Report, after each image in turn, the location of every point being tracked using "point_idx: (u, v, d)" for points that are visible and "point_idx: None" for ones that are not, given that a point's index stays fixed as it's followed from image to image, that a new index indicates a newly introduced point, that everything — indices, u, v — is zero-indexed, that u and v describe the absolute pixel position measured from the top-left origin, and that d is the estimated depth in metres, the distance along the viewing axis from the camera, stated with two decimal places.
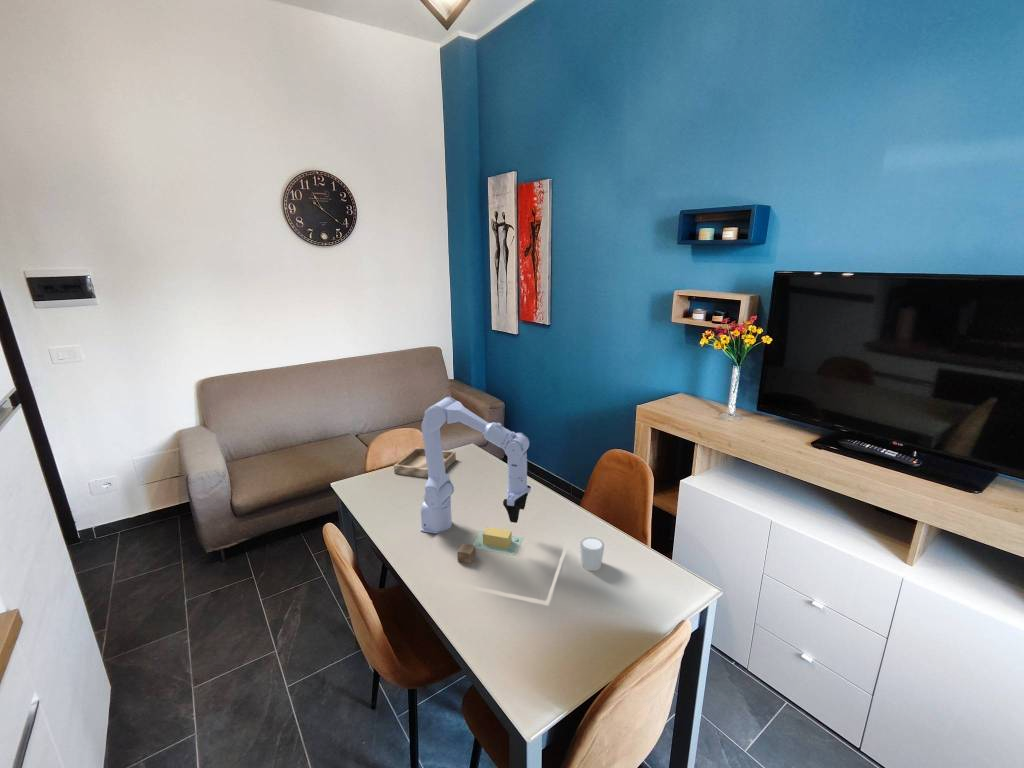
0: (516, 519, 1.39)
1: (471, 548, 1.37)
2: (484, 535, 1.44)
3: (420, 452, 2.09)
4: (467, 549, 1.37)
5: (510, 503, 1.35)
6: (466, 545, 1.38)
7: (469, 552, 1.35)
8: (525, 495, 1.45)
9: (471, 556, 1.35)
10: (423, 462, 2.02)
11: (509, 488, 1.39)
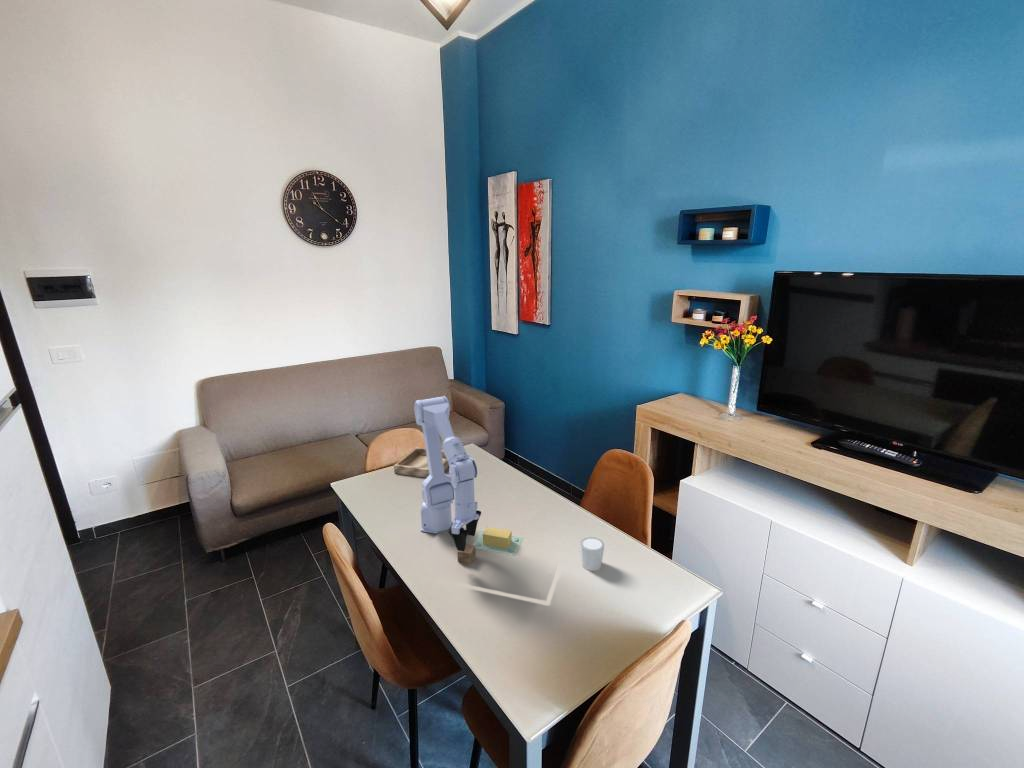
0: (463, 547, 1.32)
1: (471, 548, 1.37)
2: (484, 535, 1.44)
3: (420, 452, 2.09)
4: (467, 549, 1.37)
5: (455, 531, 1.27)
6: (466, 545, 1.38)
7: (469, 552, 1.35)
8: (475, 521, 1.38)
9: (471, 556, 1.35)
10: (423, 462, 2.02)
11: (456, 515, 1.32)
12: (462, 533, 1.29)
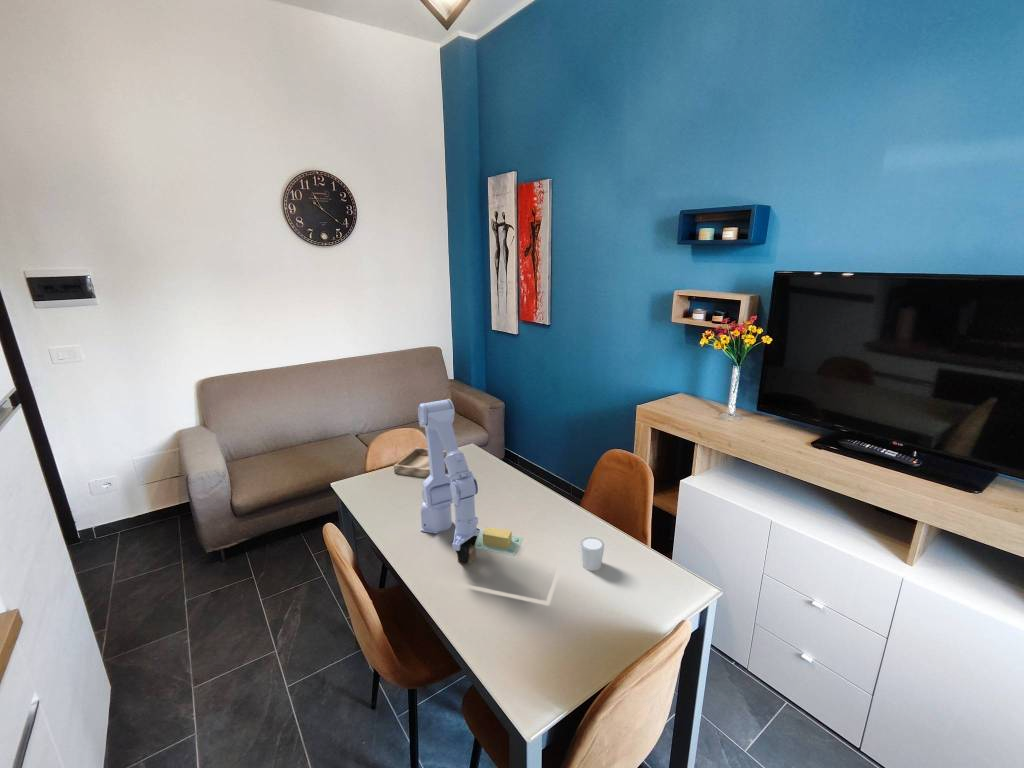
0: (466, 560, 1.35)
1: (471, 548, 1.37)
2: (484, 535, 1.44)
3: (420, 452, 2.09)
4: None
5: (455, 548, 1.29)
6: None
7: (469, 552, 1.35)
8: (473, 539, 1.38)
9: (471, 556, 1.35)
10: (423, 462, 2.02)
11: (456, 530, 1.34)
12: (465, 546, 1.31)
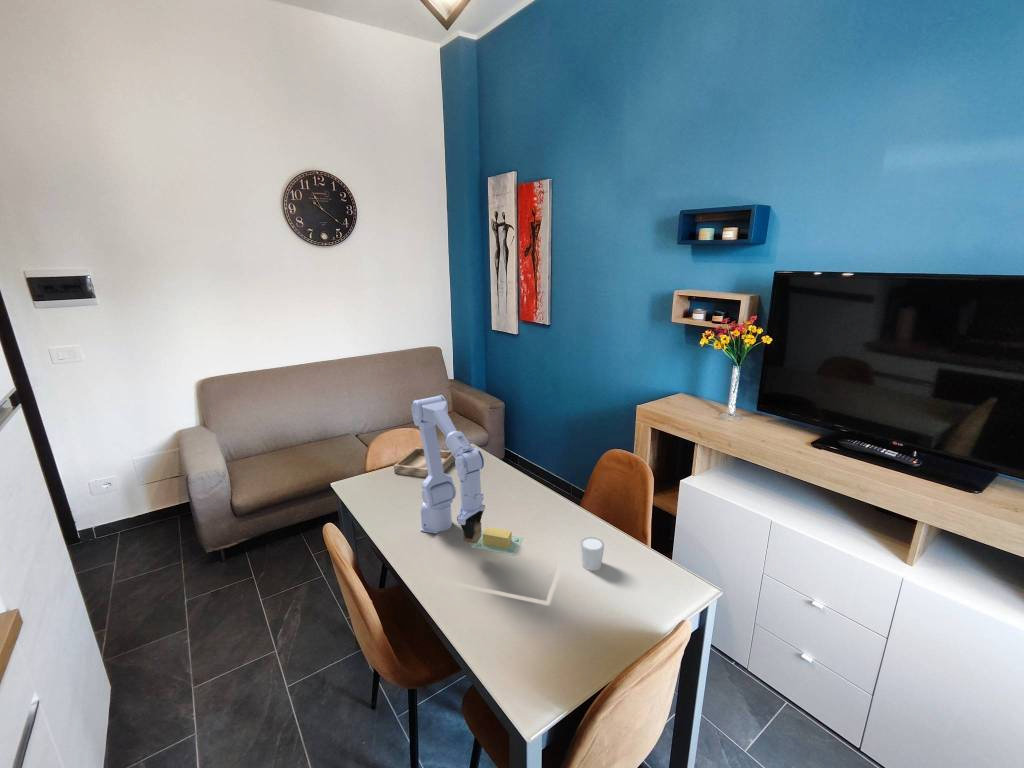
0: (471, 535, 1.34)
1: (476, 525, 1.36)
2: (484, 535, 1.44)
3: (420, 452, 2.09)
4: None
5: (461, 522, 1.28)
6: None
7: (475, 528, 1.35)
8: (479, 515, 1.37)
9: (476, 532, 1.35)
10: (423, 462, 2.02)
11: (462, 506, 1.33)
12: (470, 521, 1.31)
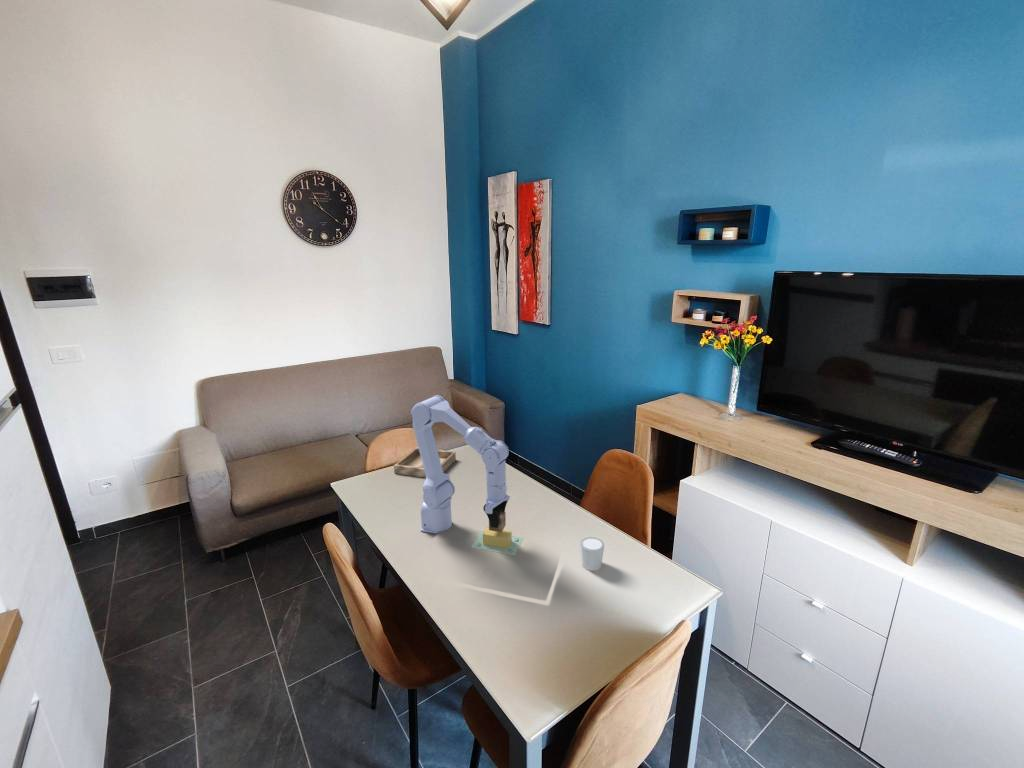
0: (497, 524, 1.40)
1: (501, 514, 1.42)
2: (484, 535, 1.44)
3: None
4: None
5: (488, 511, 1.35)
6: None
7: (500, 517, 1.41)
8: (503, 505, 1.44)
9: (502, 521, 1.41)
10: None
11: (488, 496, 1.39)
12: (496, 510, 1.37)
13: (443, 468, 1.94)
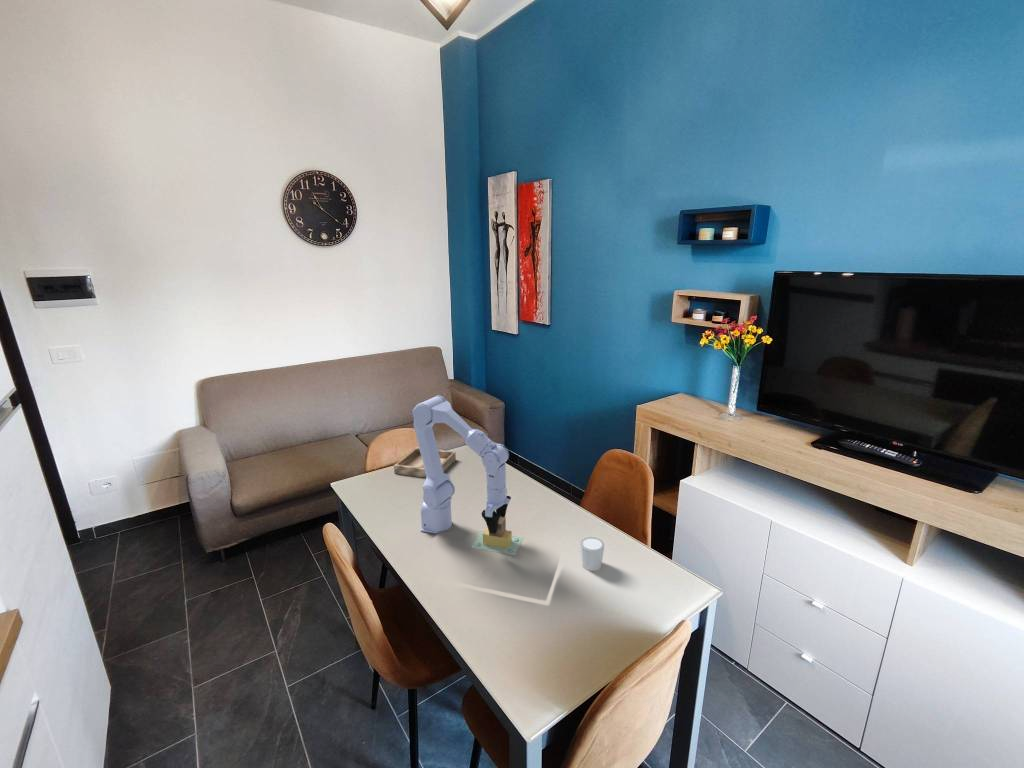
0: (495, 530, 1.39)
1: (501, 520, 1.43)
2: (484, 535, 1.44)
3: None
4: None
5: (488, 514, 1.35)
6: None
7: (500, 523, 1.41)
8: (505, 505, 1.45)
9: (502, 526, 1.41)
10: None
11: (488, 499, 1.39)
12: (495, 516, 1.36)
13: (443, 468, 1.94)
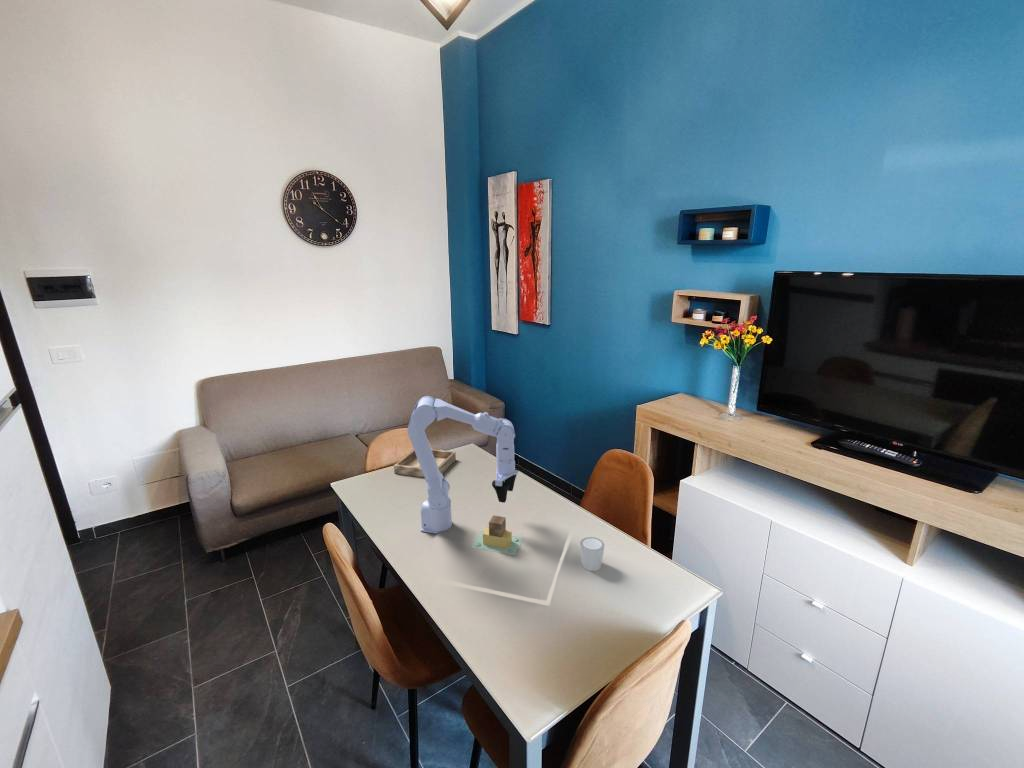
0: (504, 499, 1.49)
1: (501, 520, 1.43)
2: (484, 535, 1.44)
3: None
4: (498, 520, 1.43)
5: (498, 483, 1.45)
6: (496, 517, 1.45)
7: (500, 523, 1.41)
8: (513, 477, 1.56)
9: (502, 526, 1.41)
10: None
11: (498, 470, 1.50)
12: (504, 485, 1.46)
13: (443, 468, 1.94)
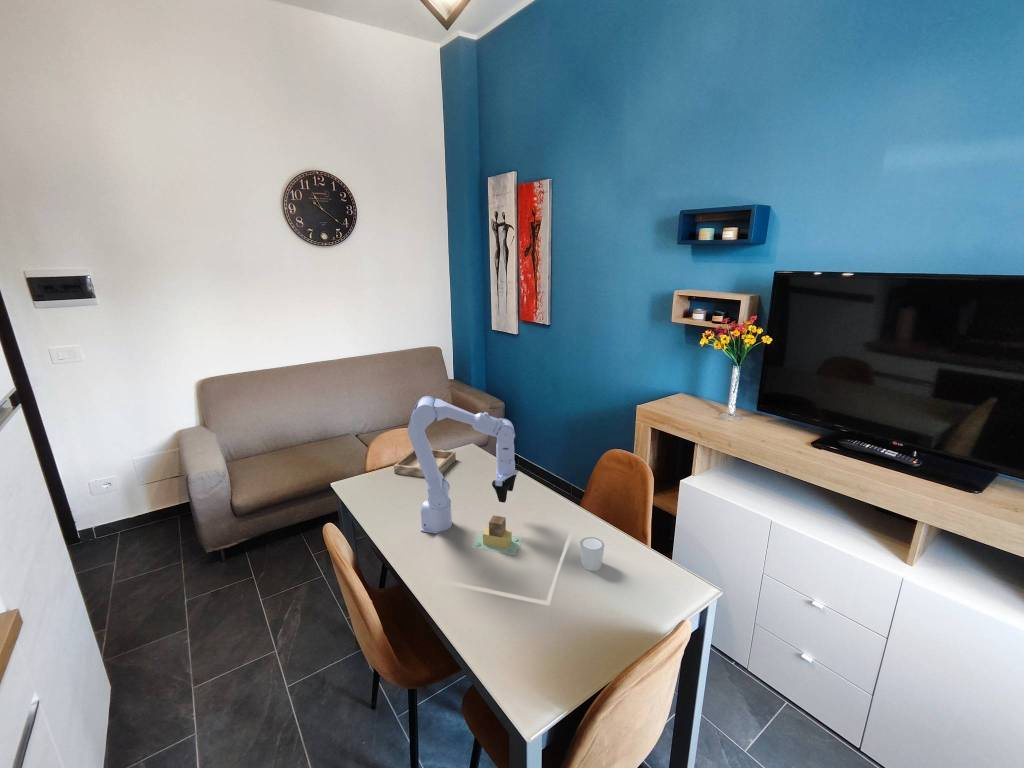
0: (504, 499, 1.50)
1: (501, 520, 1.43)
2: (484, 535, 1.44)
3: None
4: (498, 520, 1.43)
5: (498, 483, 1.45)
6: (496, 517, 1.45)
7: (500, 523, 1.41)
8: (513, 477, 1.56)
9: (502, 526, 1.41)
10: None
11: (498, 470, 1.50)
12: (504, 485, 1.46)
13: (443, 468, 1.94)
